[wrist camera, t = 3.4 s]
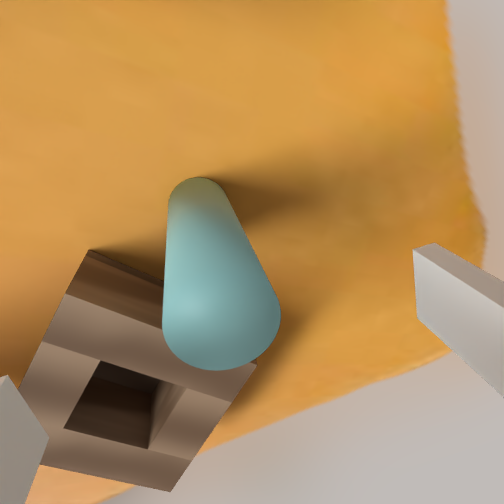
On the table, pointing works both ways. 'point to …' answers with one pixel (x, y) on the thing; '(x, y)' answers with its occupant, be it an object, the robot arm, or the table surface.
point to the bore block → (121, 382)
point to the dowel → (213, 283)
